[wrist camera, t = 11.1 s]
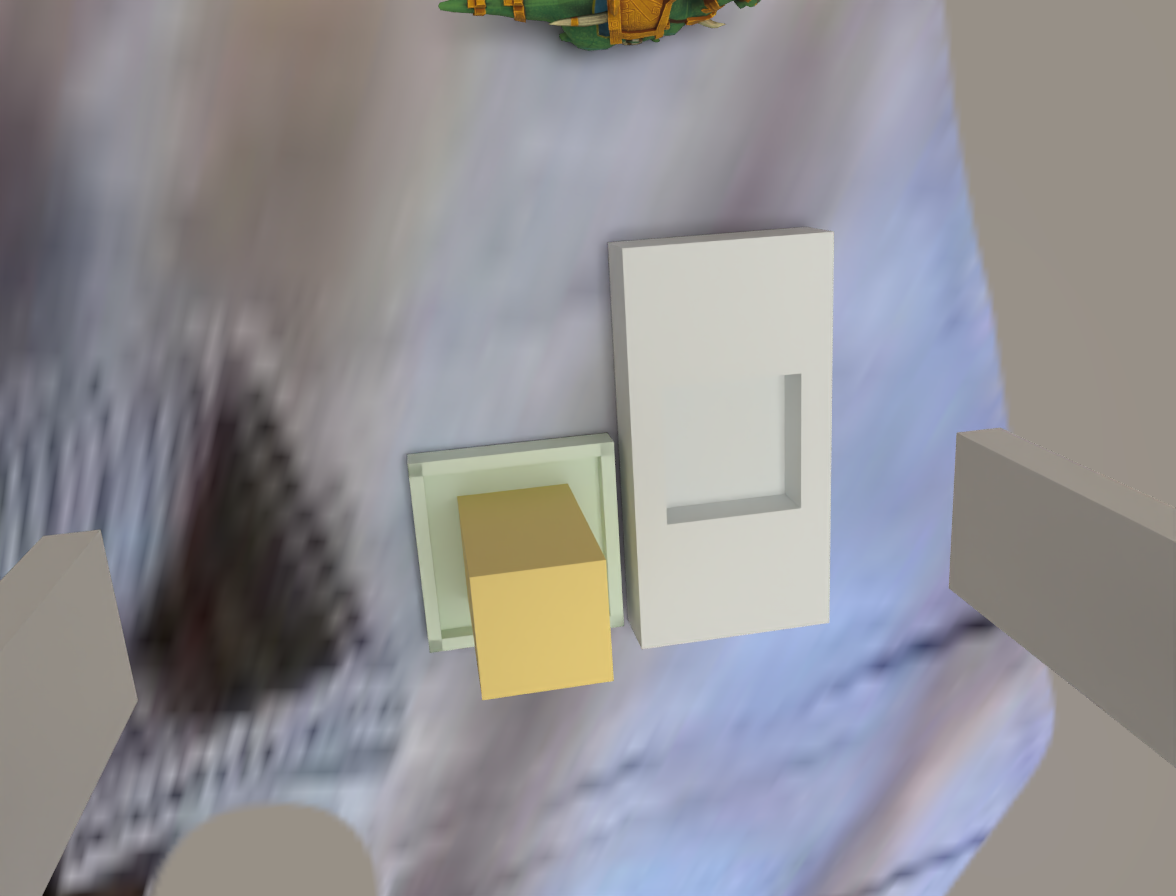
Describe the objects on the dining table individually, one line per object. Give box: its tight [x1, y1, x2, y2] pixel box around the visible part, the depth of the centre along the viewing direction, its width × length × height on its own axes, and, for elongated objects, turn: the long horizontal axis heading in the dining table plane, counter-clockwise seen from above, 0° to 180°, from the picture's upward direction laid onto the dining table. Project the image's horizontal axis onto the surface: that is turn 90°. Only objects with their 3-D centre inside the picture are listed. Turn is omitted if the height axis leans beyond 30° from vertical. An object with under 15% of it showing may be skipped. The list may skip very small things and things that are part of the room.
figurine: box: [438, 0, 761, 51], centre depth 36 cm, size 3×12×8 cm, turn 93°
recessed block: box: [608, 227, 834, 649], centre depth 45 cm, size 9×18×3 cm, turn 3°
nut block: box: [457, 483, 614, 700], centre depth 41 cm, size 5×5×9 cm
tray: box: [407, 433, 624, 653], centre depth 45 cm, size 9×9×2 cm
